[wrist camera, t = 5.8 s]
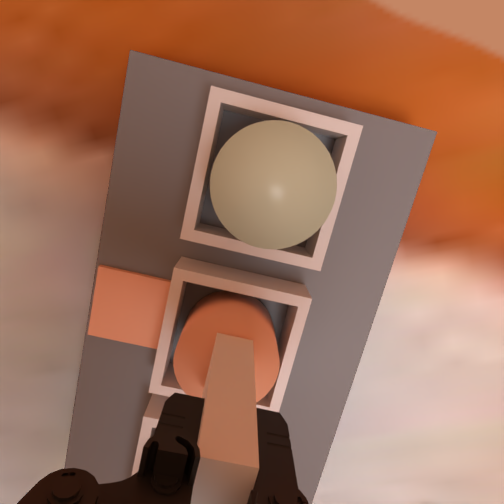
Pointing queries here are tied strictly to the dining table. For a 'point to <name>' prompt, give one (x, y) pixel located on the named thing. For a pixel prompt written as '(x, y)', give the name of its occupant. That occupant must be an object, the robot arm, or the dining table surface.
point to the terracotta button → (230, 323)
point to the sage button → (273, 184)
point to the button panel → (232, 260)
